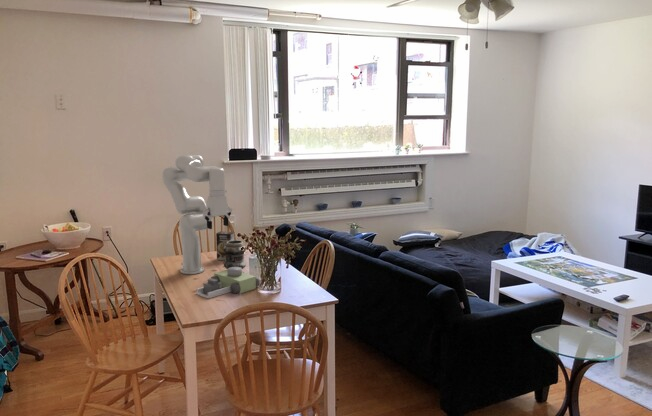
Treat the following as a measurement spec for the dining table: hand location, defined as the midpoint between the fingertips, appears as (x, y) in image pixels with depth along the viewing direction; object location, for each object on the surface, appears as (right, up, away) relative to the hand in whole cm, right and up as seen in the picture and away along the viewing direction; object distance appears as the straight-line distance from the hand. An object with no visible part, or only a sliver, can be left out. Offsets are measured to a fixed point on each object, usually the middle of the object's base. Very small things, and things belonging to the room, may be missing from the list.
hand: (217, 227), depth 255 cm
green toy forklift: (+4, -30, -5) cm, 31 cm away
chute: (-1, -31, -10) cm, 33 cm away
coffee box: (-6, -21, +51) cm, 55 cm away
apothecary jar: (+5, -26, +20) cm, 34 cm away
